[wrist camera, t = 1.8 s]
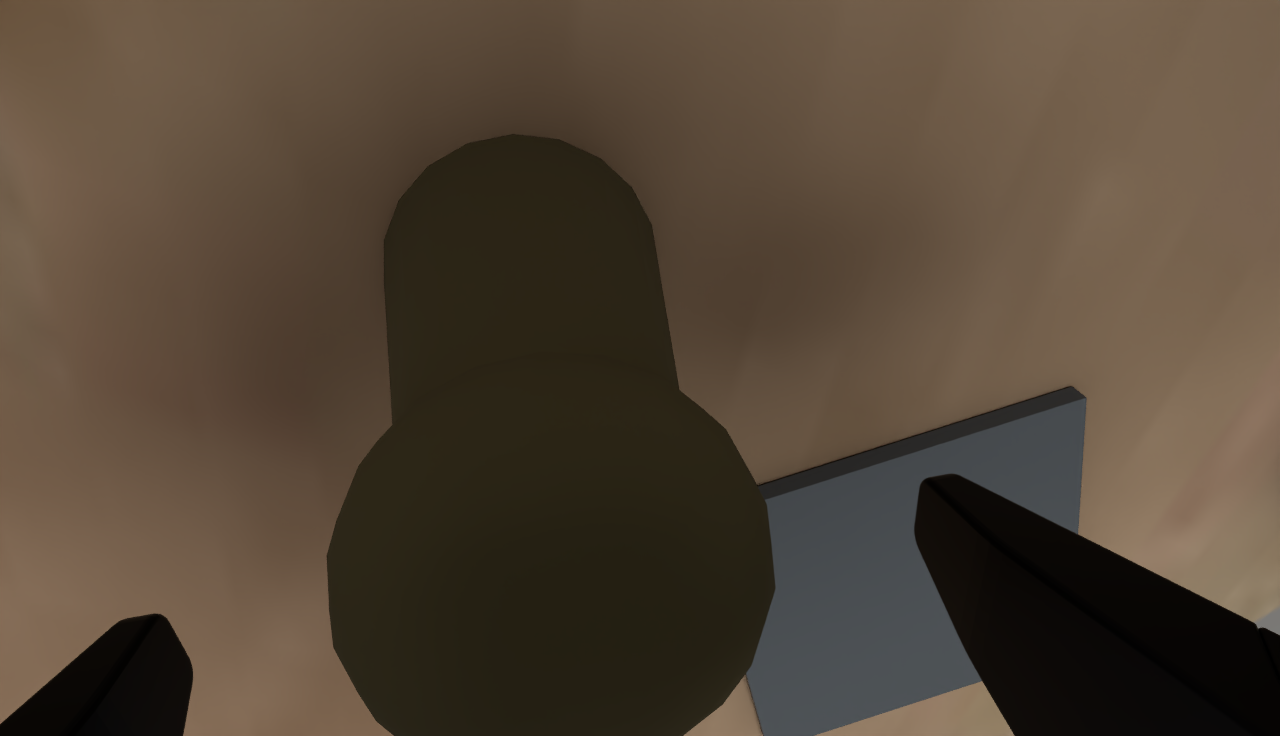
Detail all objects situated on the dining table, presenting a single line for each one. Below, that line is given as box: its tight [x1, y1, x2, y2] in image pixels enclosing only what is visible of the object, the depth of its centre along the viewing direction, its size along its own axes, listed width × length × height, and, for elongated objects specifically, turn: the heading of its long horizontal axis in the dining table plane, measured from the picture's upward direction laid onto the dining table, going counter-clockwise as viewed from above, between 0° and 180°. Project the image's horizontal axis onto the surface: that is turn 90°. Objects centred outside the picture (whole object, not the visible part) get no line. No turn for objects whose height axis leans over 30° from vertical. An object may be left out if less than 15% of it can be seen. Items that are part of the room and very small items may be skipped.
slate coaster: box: [746, 387, 1086, 736], centre depth 24 cm, size 11×11×1 cm
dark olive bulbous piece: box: [327, 134, 776, 736], centre depth 13 cm, size 6×6×11 cm
